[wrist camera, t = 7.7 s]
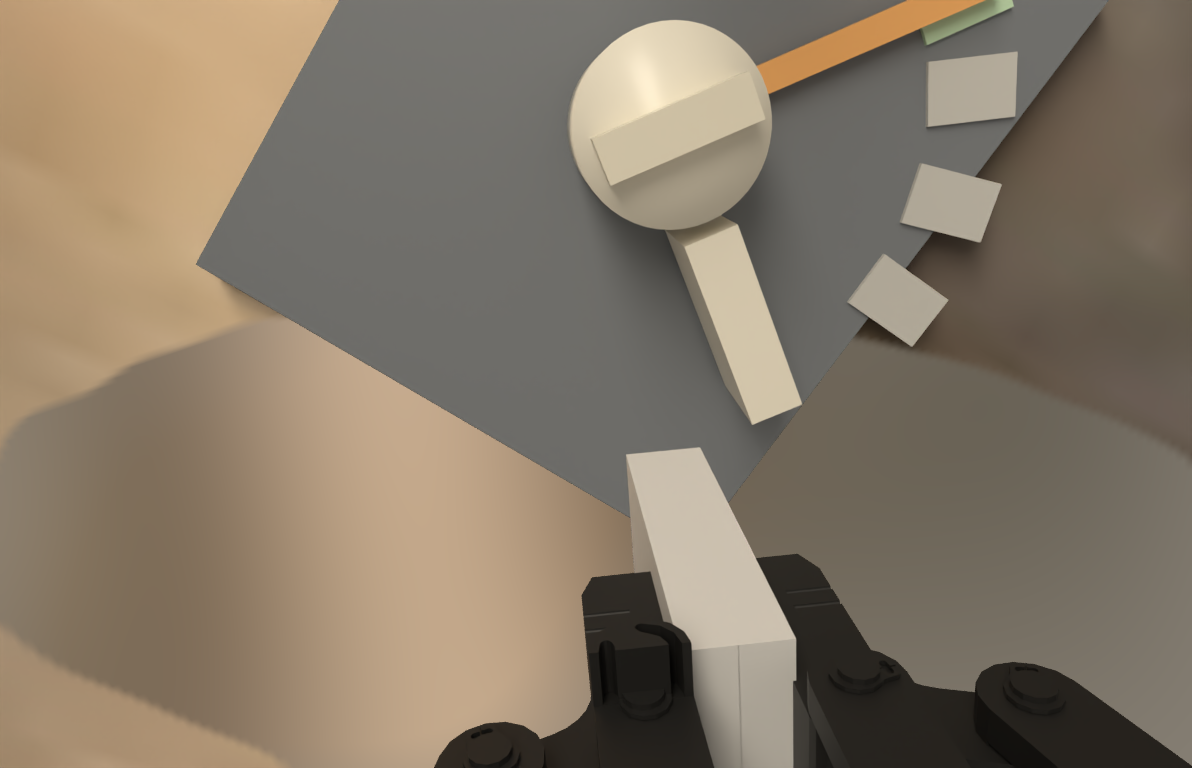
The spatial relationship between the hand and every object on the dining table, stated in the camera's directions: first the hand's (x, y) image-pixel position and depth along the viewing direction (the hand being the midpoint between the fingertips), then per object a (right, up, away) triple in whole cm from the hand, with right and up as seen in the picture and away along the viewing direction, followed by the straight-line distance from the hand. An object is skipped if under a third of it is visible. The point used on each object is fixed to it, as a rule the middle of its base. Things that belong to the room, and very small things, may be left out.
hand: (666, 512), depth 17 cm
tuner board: (+1, +12, +15) cm, 19 cm away
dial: (+6, +10, +14) cm, 18 cm away
